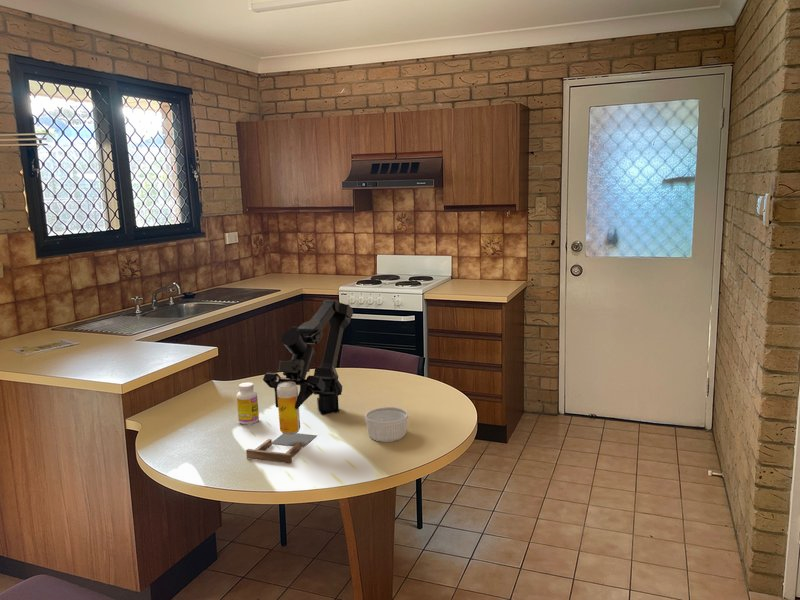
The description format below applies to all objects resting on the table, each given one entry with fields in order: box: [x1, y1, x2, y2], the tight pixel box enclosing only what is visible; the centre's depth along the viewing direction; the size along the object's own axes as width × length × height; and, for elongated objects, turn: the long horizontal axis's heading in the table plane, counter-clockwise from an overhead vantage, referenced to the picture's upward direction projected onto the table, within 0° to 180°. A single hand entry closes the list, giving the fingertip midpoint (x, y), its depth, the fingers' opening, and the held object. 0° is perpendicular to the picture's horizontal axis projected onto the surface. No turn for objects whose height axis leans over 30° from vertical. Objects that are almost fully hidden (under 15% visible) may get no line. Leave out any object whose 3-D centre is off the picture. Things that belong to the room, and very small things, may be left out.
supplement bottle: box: [236, 382, 260, 425], centre depth 210 cm, size 7×7×13 cm
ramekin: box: [364, 406, 409, 443], centre depth 195 cm, size 13×13×7 cm
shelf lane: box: [245, 438, 303, 465], centre depth 184 cm, size 10×14×2 cm
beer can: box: [277, 381, 301, 435], centre depth 191 cm, size 6×6×15 cm
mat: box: [272, 432, 317, 448], centre depth 194 cm, size 9×11×1 cm
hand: (286, 407), depth 189 cm, fingers closed on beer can, 6 cm apart
